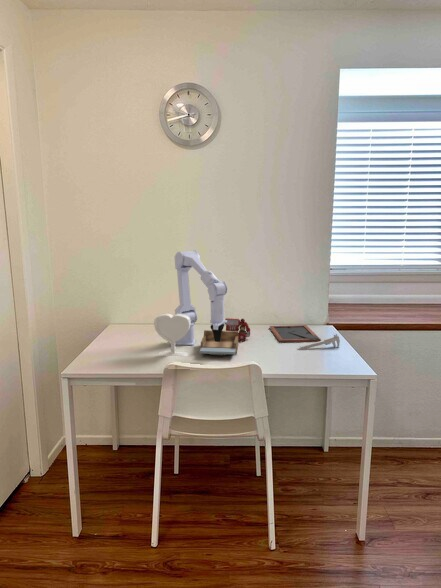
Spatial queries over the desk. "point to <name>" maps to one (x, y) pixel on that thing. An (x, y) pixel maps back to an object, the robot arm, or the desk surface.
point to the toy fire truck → (234, 326)
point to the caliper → (323, 342)
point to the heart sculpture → (172, 330)
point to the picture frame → (294, 334)
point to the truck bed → (227, 340)
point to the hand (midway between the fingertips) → (217, 341)
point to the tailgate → (218, 351)
